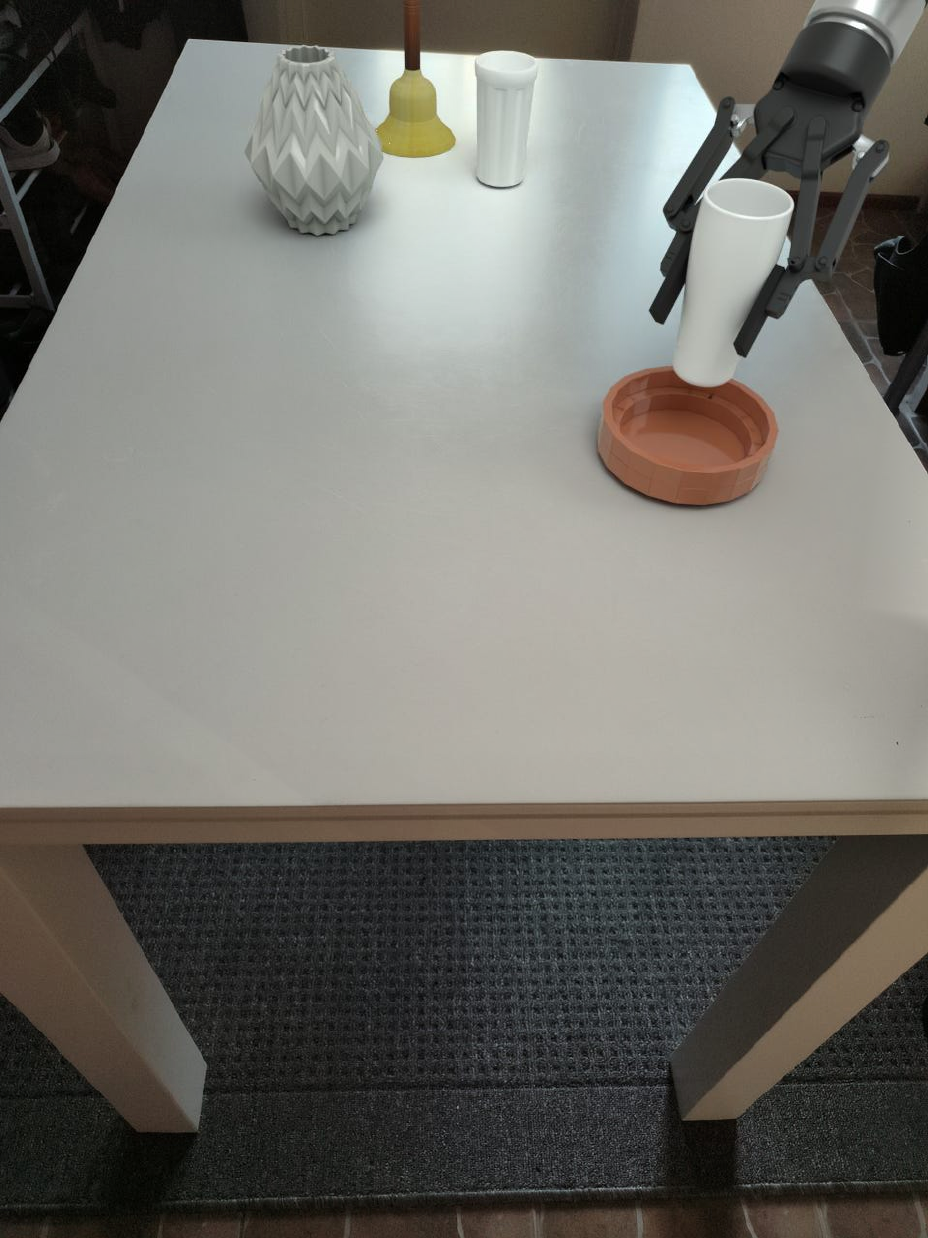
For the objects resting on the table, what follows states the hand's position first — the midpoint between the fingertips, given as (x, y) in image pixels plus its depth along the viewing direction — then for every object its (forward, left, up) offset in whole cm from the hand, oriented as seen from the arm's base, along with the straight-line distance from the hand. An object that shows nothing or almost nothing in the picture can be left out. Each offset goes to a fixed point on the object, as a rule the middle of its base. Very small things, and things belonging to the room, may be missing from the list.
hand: (697, 333), depth 71 cm
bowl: (-1, -3, -14) cm, 15 cm away
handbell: (+51, -58, -15) cm, 79 cm away
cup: (+35, -51, -15) cm, 64 cm away
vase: (+51, -30, -15) cm, 61 cm away
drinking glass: (-1, -3, -6) cm, 7 cm away
